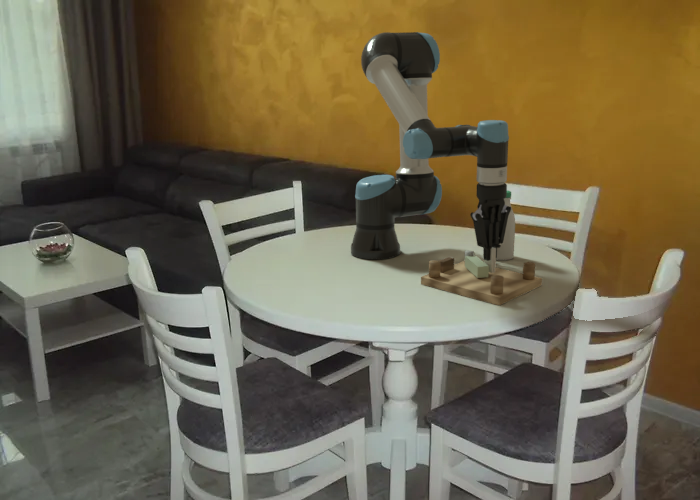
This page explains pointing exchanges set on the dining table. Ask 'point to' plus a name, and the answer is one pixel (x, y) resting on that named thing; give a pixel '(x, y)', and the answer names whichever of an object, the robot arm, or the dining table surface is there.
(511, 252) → the milk bottle
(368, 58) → the robot arm
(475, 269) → the rail
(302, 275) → the dining table surface
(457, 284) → the stool board
